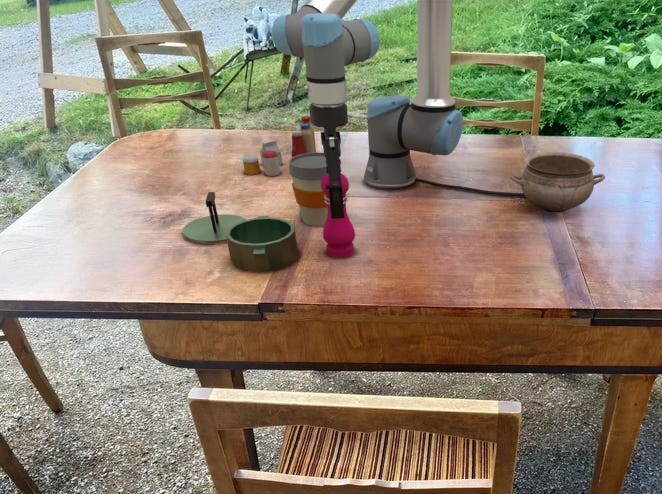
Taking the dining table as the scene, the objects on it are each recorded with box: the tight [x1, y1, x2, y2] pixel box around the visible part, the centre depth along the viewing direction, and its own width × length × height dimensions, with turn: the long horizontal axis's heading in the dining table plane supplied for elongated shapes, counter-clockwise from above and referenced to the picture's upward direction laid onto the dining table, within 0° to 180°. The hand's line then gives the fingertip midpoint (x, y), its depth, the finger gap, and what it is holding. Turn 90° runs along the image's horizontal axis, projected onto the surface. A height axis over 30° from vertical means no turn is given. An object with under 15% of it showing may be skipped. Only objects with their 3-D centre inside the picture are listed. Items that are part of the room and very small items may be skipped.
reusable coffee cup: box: [288, 151, 342, 227], centre depth 150 cm, size 13×13×15 cm
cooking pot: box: [509, 151, 606, 214], centre depth 158 cm, size 25×19×12 cm
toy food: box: [242, 115, 317, 177], centre depth 184 cm, size 27×13×12 cm, turn 135°
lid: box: [182, 191, 248, 244], centre depth 145 cm, size 16×16×9 cm
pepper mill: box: [321, 172, 356, 259], centre depth 133 cm, size 7×7×20 cm
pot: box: [226, 215, 299, 273], centre depth 135 cm, size 15×20×6 cm
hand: (336, 205), depth 132 cm, fingers open, 13 cm apart
